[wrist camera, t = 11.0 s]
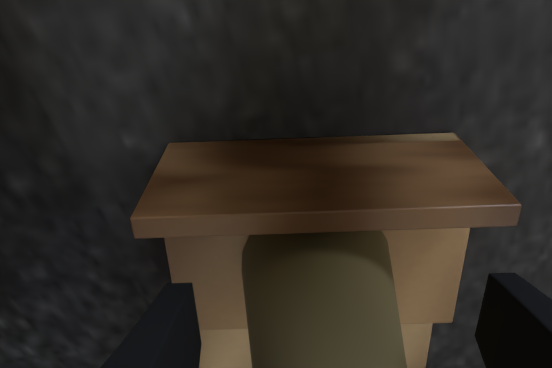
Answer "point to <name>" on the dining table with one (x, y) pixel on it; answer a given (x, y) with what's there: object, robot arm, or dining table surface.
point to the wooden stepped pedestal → (320, 219)
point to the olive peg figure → (321, 301)
